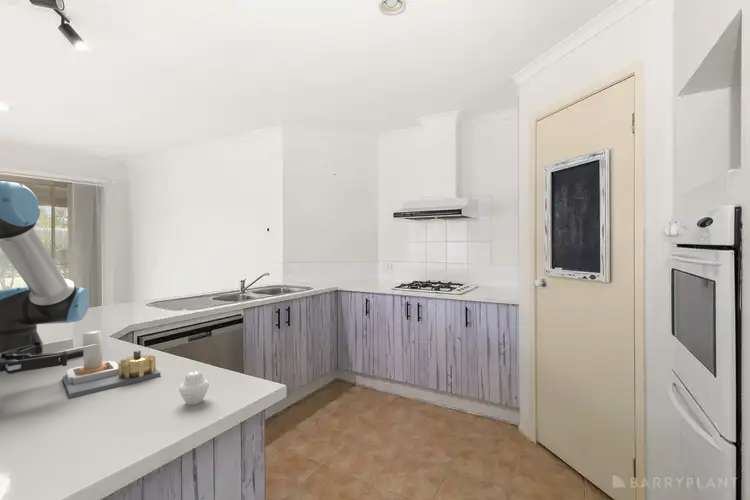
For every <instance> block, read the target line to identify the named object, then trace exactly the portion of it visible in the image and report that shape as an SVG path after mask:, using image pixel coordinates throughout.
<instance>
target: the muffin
mask: <svg viewBox="0 0 750 500" xmlns="http://www.w3.org/2000/svg"><path fill="white" fill-rule="evenodd" d="M209 387H210V382H209V381H208V380H207V379H205V377H204V375H203V373H202V372H201V371H195V370H194V371H191V372H189V373H187V374H186V375H185V378H184V380H183V381H182V383H181V384H180V385H179V387H178V391H179V393H180V396H181V398H182V399H183V400H184V402H185V404H186V405H188V406H191V405H198V404H201V403H202V402H203V400H204V399H205V396H206V394H207V393H208V389H209Z"/></svg>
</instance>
